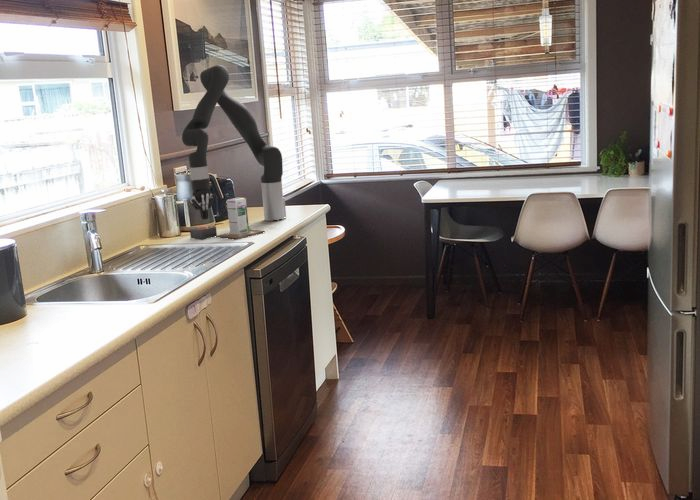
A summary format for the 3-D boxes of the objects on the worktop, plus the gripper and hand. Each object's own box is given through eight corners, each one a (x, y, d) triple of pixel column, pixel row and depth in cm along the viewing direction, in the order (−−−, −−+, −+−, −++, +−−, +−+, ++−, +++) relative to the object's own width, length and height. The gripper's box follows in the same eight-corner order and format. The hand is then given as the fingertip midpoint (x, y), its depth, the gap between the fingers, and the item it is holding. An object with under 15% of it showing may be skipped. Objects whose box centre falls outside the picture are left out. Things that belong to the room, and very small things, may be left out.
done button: (204, 232, 320) (203, 225, 319) (211, 233, 317) (210, 226, 316) (195, 234, 317) (195, 227, 316) (202, 235, 314) (201, 227, 313)
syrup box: (239, 235, 313) (236, 199, 310) (229, 234, 316) (226, 199, 313) (249, 232, 317) (246, 197, 314) (239, 231, 321) (236, 197, 318)
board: (245, 230, 327) (245, 228, 326) (264, 232, 319) (264, 230, 319) (216, 237, 315) (215, 235, 315) (235, 239, 307) (235, 237, 307)
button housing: (205, 234, 322) (204, 225, 321) (216, 236, 317) (216, 226, 316) (190, 238, 317) (189, 228, 316) (202, 239, 312) (201, 230, 311)
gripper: (206, 175, 322) (211, 215, 326) (181, 179, 312) (186, 221, 316) (218, 175, 317) (222, 216, 321) (192, 180, 307) (198, 222, 311)
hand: (204, 219), depth 318 cm, fingers closed
